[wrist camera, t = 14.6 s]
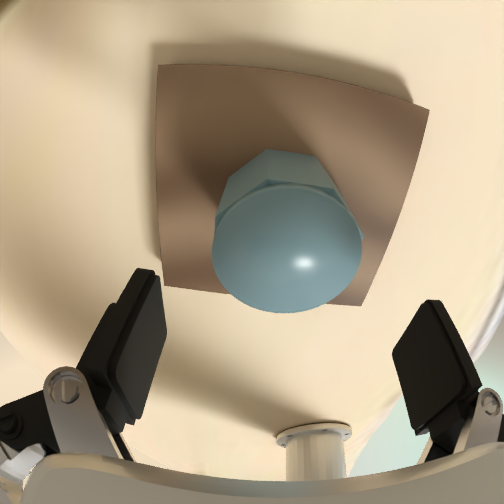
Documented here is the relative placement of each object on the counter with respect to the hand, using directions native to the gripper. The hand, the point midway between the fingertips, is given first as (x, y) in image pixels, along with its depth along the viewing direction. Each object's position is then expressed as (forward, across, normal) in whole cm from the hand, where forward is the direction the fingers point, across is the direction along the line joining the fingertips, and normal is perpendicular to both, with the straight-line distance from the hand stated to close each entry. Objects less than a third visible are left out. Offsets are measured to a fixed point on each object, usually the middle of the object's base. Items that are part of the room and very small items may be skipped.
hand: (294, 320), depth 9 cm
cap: (+8, 0, -1) cm, 8 cm away
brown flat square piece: (+9, 0, -1) cm, 9 cm away
